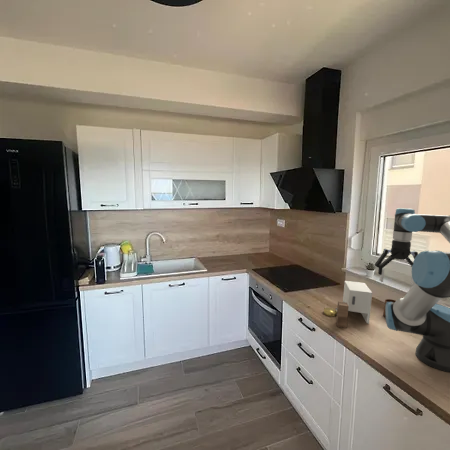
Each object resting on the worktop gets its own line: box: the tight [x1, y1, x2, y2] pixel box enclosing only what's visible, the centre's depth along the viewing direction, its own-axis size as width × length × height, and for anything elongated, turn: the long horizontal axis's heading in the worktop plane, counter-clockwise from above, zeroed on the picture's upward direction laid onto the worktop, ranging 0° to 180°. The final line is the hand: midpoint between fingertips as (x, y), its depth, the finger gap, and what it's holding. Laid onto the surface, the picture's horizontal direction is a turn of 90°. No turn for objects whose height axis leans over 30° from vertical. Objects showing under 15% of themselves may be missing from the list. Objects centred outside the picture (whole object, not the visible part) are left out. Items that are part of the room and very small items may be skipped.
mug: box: [382, 298, 397, 318], centre depth 148 cm, size 12×8×9 cm, turn 111°
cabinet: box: [342, 280, 373, 325], centre depth 147 cm, size 17×11×18 cm, turn 164°
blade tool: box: [335, 301, 349, 329], centre depth 143 cm, size 20×4×12 cm, turn 164°
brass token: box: [323, 307, 337, 318], centre depth 149 cm, size 7×7×2 cm
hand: (396, 282), depth 126 cm, fingers open, 13 cm apart
